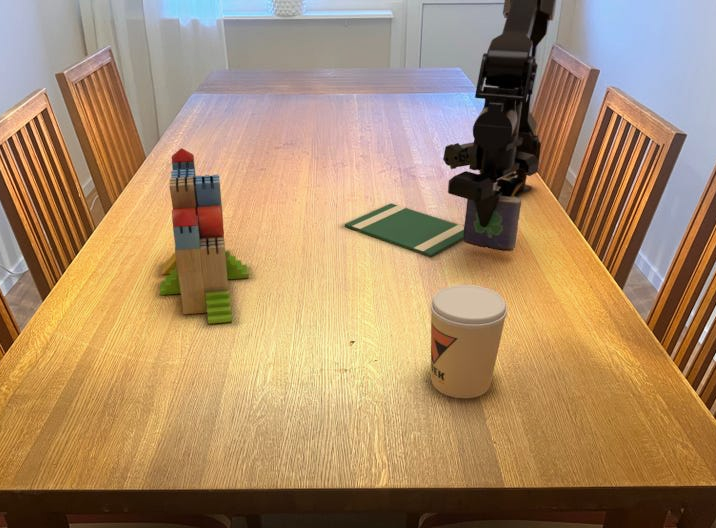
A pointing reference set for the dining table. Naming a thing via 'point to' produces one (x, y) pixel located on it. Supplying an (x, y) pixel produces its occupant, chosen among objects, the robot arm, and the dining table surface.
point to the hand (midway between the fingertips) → (489, 223)
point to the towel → (409, 229)
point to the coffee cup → (465, 339)
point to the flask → (494, 225)
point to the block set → (199, 244)
